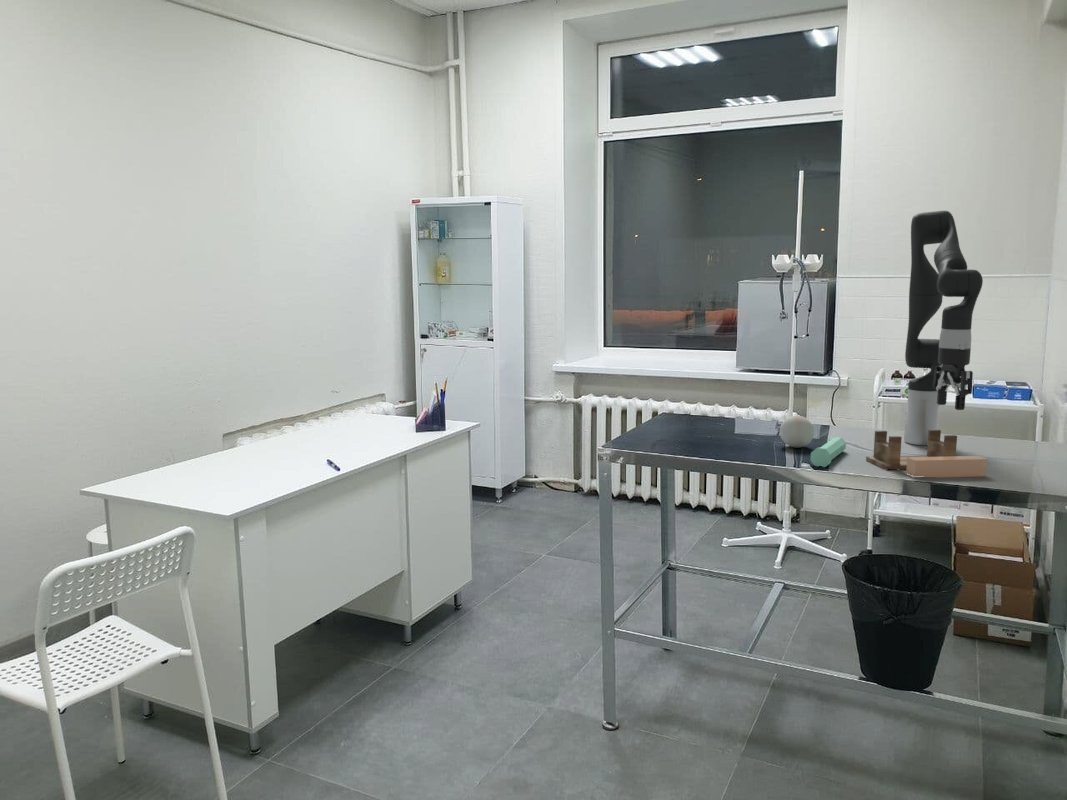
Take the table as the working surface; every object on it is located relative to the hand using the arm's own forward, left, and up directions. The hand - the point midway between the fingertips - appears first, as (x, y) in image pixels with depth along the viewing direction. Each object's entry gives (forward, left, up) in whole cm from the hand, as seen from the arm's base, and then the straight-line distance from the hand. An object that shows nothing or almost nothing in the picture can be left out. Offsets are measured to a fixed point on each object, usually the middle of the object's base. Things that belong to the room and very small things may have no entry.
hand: (950, 407), depth 222 cm
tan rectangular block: (0, 0, -19) cm, 19 cm away
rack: (-13, -2, -19) cm, 23 cm away
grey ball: (-39, -26, -19) cm, 50 cm away
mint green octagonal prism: (-23, -22, -19) cm, 37 cm away
